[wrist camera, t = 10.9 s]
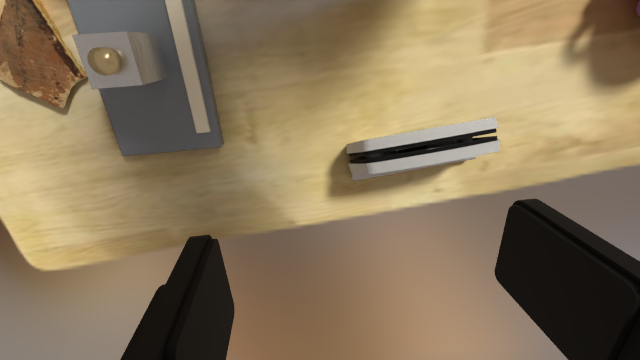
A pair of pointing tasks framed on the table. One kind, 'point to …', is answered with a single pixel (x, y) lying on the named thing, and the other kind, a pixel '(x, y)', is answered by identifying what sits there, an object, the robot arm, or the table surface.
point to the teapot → (638, 8)
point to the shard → (36, 53)
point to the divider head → (121, 58)
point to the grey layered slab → (437, 152)
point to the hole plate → (164, 95)
